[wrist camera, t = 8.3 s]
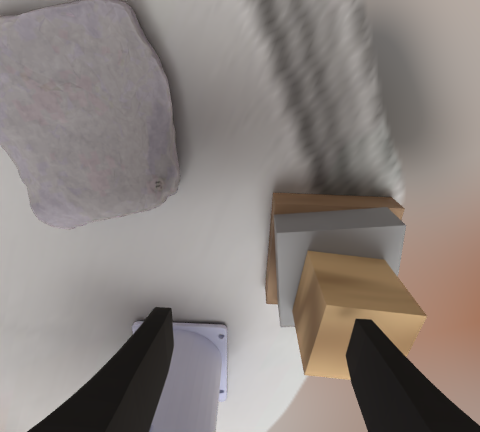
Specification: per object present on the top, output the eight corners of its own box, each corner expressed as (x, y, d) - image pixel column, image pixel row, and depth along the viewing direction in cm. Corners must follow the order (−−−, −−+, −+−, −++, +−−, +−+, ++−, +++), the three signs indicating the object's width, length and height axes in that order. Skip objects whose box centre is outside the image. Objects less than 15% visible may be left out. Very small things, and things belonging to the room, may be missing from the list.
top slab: (375, 296, 22) (390, 322, 19) (277, 301, 22) (280, 327, 20) (387, 207, 19) (406, 225, 16) (273, 214, 19) (276, 233, 17)
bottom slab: (364, 287, 24) (375, 308, 22) (264, 282, 24) (266, 303, 22) (387, 194, 21) (404, 208, 19) (272, 189, 21) (275, 203, 19)
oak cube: (361, 318, 19) (392, 384, 15) (292, 311, 19) (304, 375, 15) (384, 259, 17) (427, 316, 13) (307, 250, 17) (326, 305, 13)
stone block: (143, -7, 18) (-31, 35, 17) (131, -35, 13) (-102, 20, 13) (201, 180, 23) (69, 218, 22) (205, 204, 18) (43, 251, 18)
